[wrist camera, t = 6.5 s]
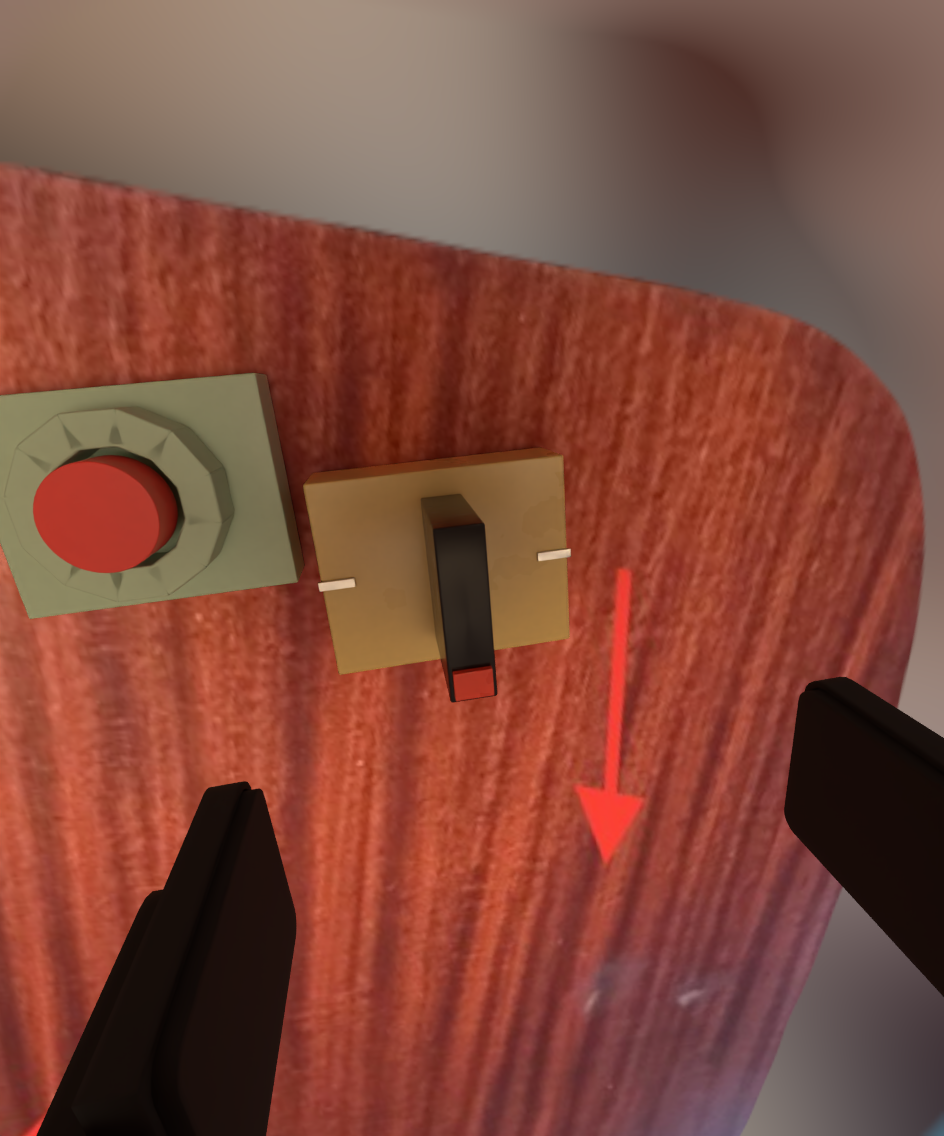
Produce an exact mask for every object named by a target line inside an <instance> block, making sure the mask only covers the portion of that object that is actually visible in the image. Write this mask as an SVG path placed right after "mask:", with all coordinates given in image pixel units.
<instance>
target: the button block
mask: <svg viewBox="0 0 944 1136" xmlns="http://www.w3.org/2000/svg"><path fill="white" fill-rule="evenodd" d="M103 455H119V456H125V457H129V458H132V459H135V460H138V461H140V462H142V463H144V464H146V465H147V466H149V467H151V468H152V469H153V470H155V471H156V472H157V473H158V474H159V475H160V476H161V477H162V478H163V479H164V480H165V481H166V483H167V484H168V486H169V487H170V489H171V491H172V493H173V495H174V497H175V500H176V504H177V510H178V518H177V524H176V528H175V531H174V533H173V535H172V536H171V538H170V540H169V541H168V542H167V543H166V544H165V545H164V546H163V547H162V548H161V549H159V550H158V551H157V552H155V553H154V554H152V555H151V556H150V557H148V558H147V559H146V560H144V561H143V562H142V563H140V564H138V565H137V566H135V567H133V568H131V569H128V570H125V571H121V572H116V573H97V572H91V571H87V570H83V569H81V568H78V567H75V566H73V565H71V564H69V563H67V562H66V561H64V560H63V559H61V558H60V557H59V556H57V555H56V554H55V553H54V552H53V551H52V550H51V549H50V548H49V547H48V546H47V545H46V543H45V542H44V541H43V539H42V537H41V536H40V534H39V532H38V530H37V527H36V525H35V521H34V516H33V502H34V497H35V494H36V491H37V489H38V487H39V485H40V483H41V482H42V481H43V480H44V478H45V477H46V476H47V475H49V474H50V473H51V472H52V471H54V470H55V469H57V468H59V467H61V466H63V465H66V464H69V463H73V462H77V461H81V460H85V459H89V458H93V457H97V456H103ZM0 544H1V546H2V549H3V551H4V554H5V557H6V559H7V562H8V564H9V567H10V570H11V572H12V575H13V577H14V580H15V583H16V585H17V588H18V590H19V593H20V596H21V598H22V601H23V603H24V606H25V609H26V611H27V614H28V616H29V618H30V619H33V618H40V617H47V616H55V615H62V614H69V613H77V612H84V611H91V610H99V609H106V608H113V607H121V606H128V605H135V604H143V603H150V602H157V601H165V600H172V599H179V598H187V597H194V596H201V595H209V594H216V593H223V592H231V591H238V590H245V589H253V588H260V587H267V586H275V585H282V584H289V583H297V582H298V580H299V578H300V576H301V573H302V571H303V568H304V560H303V555H302V550H301V545H300V540H299V535H298V530H297V525H296V520H295V515H294V510H293V505H292V500H291V495H290V490H289V485H288V480H287V475H286V470H285V465H284V460H283V455H282V450H281V445H280V440H279V435H278V430H277V425H276V420H275V415H274V410H273V405H272V400H271V395H270V390H269V385H268V380H267V375H266V374H259V373H246V374H234V375H223V376H212V377H200V378H189V379H178V380H167V381H155V382H144V383H133V384H121V385H110V386H99V387H88V388H76V389H65V390H54V391H42V392H31V393H20V394H9V395H0Z"/></svg>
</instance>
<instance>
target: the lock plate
mask: <svg viewBox="0 0 944 1136" xmlns="http://www.w3.org/2000/svg"><path fill="white" fill-rule="evenodd" d="M303 490H304V495H305V500H306V505H307V510H308V516H309V521H310V526H311V531H312V537H313V542H314V547H315V552H316V558H317V563H318V568H319V573H320V578H321V582H318V587H319V592H322V591H323V594H324V599H325V605H326V610H327V615H328V620H329V625H330V631H331V636H332V641H333V646H334V652H335V657H336V662H337V667H338V673H339V674H340V675H341V674H348V673H354V672H360V671H367V670H373V669H379V668H386V667H392V666H398V665H404V664H411V663H417V662H423V661H430V660H436V659H441V658H440V654H439V650H438V645H437V641H436V636H435V627H434V618H433V609H432V600H431V591H430V582H429V573H428V564H427V555H426V545H425V536H424V527H423V518H422V509H421V498H425V497H434V496H443V495H452V494H461V495H462V496H463V497H464V498H465V500H466V501H467V502H468V503H469V505H470V506H471V507H472V508H473V510H474V511H475V512H476V514H477V515H478V516H479V517H480V519H481V520H482V521H483V522H484V524H485V531H486V545H487V558H488V572H489V586H490V599H491V613H492V626H493V640H494V650H499V649H505V648H512V647H518V646H524V645H531V644H537V643H543V642H549V641H556V640H562V639H568V638H569V637H570V636H569V607H568V578H567V557H571V549H570V548H566V521H565V492H564V463H563V455H561V454H558V453H555V452H553V451H550V450H547V449H544V448H541V447H539V448H530V449H522V450H513V451H504V452H495V453H486V454H477V455H468V456H459V457H450V458H441V459H433V460H424V461H415V462H406V463H397V464H388V465H379V466H370V467H361V468H352V469H343V470H335V471H326V472H317V473H312V474H311V475H310V477H309V478H308V479H307V481H306V482H305V483H304V485H303Z"/></svg>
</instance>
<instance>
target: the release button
mask: <svg viewBox="0 0 944 1136" xmlns="http://www.w3.org/2000/svg"><path fill="white" fill-rule="evenodd" d="M33 516H34V521H35V525H36V527H37V530H38V532H39V534H40V536H41V537H42V539H43V541H44V542H45V543H46V545H47V546H48V547H49V548H50V549H51V550H52V551H53V552H54V553H55V554H56V555H57V556H59V557H60V558H61V559H63V560H64V561H66V562H67V563H69V564H71V565H73V566H75V567H78V568H81V569H83V570H87V571H91V572H97V573H116V572H121V571H125V570H128V569H131V568H133V567H135V566H137V565H138V564H140V563H142V562H143V561H144V560H146V559H147V558H148V557H150V556H151V555H152V554H154V553H155V552H157V551H158V550H159V549H161V548H162V547H163V546H164V545H165V544H166V543H167V542H168V541H169V540H170V538H171V536H172V535H173V533H174V531H175V528H176V524H177V518H178V510H177V504H176V500H175V497H174V495H173V493H172V491H171V489H170V487H169V486H168V484H167V483H166V481H165V480H164V479H163V478H162V477H161V476H160V475H159V474H158V473H157V472H156V471H155V470H153V469H152V468H151V467H149V466H147V465H146V464H144V463H142V462H140V461H138V460H135V459H132V458H129V457H125V456H119V455H103V456H97V457H93V458H89V459H85V460H81V461H77V462H73V463H69V464H66V465H63V466H61V467H59V468H57V469H55V470H54V471H52V472H51V473H50V474H49V475H47V476H46V477H45V478H44V480H43V481H42V482H41V483H40V485H39V487H38V489H37V491H36V494H35V497H34V502H33Z"/></svg>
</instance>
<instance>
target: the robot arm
mask: <svg viewBox="0 0 944 1136" xmlns="http://www.w3.org/2000/svg"><path fill="white" fill-rule="evenodd" d="M784 813H785V818H786V821H787V823H788V825H789V827H790V829H791V830H792V831H793V833H794V834H795V835H796V836H797V837H798V838H799V839H800V840H801V841H802V843H803V844H804V845H805V846H806V847H807V848H808V849H809V850H810V851H811V852H812V854H813V855H814V856H815V857H816V858H817V859H818V860H819V861H820V862H821V863H822V864H823V866H824V867H825V868H826V869H827V870H828V871H829V872H830V873H831V874H832V875H833V876H834V878H835V879H836V880H837V881H838V882H839V883H840V884H841V885H842V886H843V887H844V888H845V890H846V891H847V892H848V893H849V894H850V895H851V896H852V897H853V898H854V899H855V900H856V902H857V903H858V904H859V905H860V906H861V907H862V908H863V909H864V910H865V911H866V912H867V913H868V915H869V916H870V917H872V919H873V920H874V921H875V922H876V923H877V924H878V926H879V927H880V928H881V929H882V930H883V931H884V932H885V933H886V934H887V935H888V937H889V938H890V939H891V940H892V941H893V942H894V943H895V944H896V945H897V946H898V947H899V949H900V950H901V951H902V952H903V953H904V954H905V955H906V956H907V957H908V958H909V959H910V961H911V962H912V963H913V964H914V965H915V966H916V967H917V968H918V969H919V970H920V971H921V972H922V974H923V975H924V976H925V977H926V978H927V979H928V980H929V981H930V982H931V984H933V986H934V987H935V988H936V989H937V990H938V991H939V992H940V993H941V994H942V995H943V997H944V738H943V737H941V736H940V735H938V734H937V733H935V732H933V731H932V730H930V729H928V728H927V727H926V726H924V725H922V724H921V723H919V722H917V721H916V720H914V719H913V718H911V717H910V716H908V715H907V714H905V713H903V712H902V711H900V710H899V709H897V708H896V707H894V706H892V705H891V704H889V703H888V702H886V701H884V700H883V699H881V698H880V697H878V696H877V695H875V694H873V693H872V692H870V691H869V690H867V689H866V688H864V687H862V686H861V685H859V684H858V683H856V682H854V681H853V680H851V679H849V678H847V677H836V678H831V679H825V680H819V681H814V682H811V683H809V684H808V685H807V686H806V689H805V692H803V693H802V694H801V695H800V697H799V701H798V709H797V717H796V724H795V732H794V739H793V747H792V754H791V762H790V769H789V777H788V785H787V792H786V800H785V807H784ZM295 939H296V913H295V908H294V905H293V901H292V897H291V893H290V890H289V886H288V882H287V879H286V875H285V871H284V867H283V864H282V860H281V856H280V853H279V849H278V845H277V841H276V838H275V834H274V830H273V827H272V823H271V819H270V815H269V812H268V808H267V804H266V800H265V797H264V794H263V791H262V790H261V789H254V790H251V787H250V785H249V783H248V782H245V781H244V782H238V783H232V784H227V785H221V786H215V787H210V788H208V789H207V790H206V791H205V793H204V795H203V797H202V800H201V802H200V804H199V807H198V809H197V811H196V814H195V816H194V818H193V821H192V823H191V825H190V828H189V830H188V833H187V835H186V837H185V840H184V842H183V844H182V847H181V849H180V851H179V854H178V856H177V858H176V861H175V863H174V866H173V868H172V870H171V873H170V875H169V877H168V880H167V882H166V884H165V887H164V889H163V890H158V891H153V892H152V893H150V894H149V895H148V896H147V897H146V898H145V900H144V902H143V904H142V905H141V907H140V909H139V911H138V913H137V915H136V918H135V920H134V922H133V924H132V926H131V929H130V931H129V933H128V935H127V937H126V940H125V942H124V944H123V946H122V948H121V951H120V953H119V955H118V957H117V959H116V962H115V964H114V966H113V968H112V970H111V973H110V975H109V977H108V979H107V981H106V984H105V986H104V988H103V990H102V992H101V995H100V997H99V999H98V1001H97V1003H96V1006H95V1008H94V1010H93V1012H92V1014H91V1017H90V1019H89V1021H88V1023H87V1025H86V1028H85V1030H84V1032H83V1034H82V1036H81V1039H80V1041H79V1043H78V1045H77V1047H76V1050H75V1052H74V1054H73V1056H72V1059H71V1061H70V1063H69V1065H68V1067H67V1070H66V1072H65V1074H64V1076H63V1078H62V1081H61V1083H60V1085H59V1087H58V1089H57V1092H56V1094H55V1096H54V1098H53V1100H52V1103H51V1105H50V1107H49V1109H48V1111H47V1114H46V1116H45V1118H44V1120H43V1122H42V1125H41V1127H40V1129H39V1131H38V1133H37V1136H266V1132H267V1125H268V1118H269V1112H270V1105H271V1099H272V1092H273V1085H274V1079H275V1072H276V1065H277V1059H278V1052H279V1045H280V1039H281V1032H282V1025H283V1019H284V1012H285V1005H286V999H287V992H288V985H289V979H290V972H291V965H292V959H293V952H294V945H295Z"/></svg>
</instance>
